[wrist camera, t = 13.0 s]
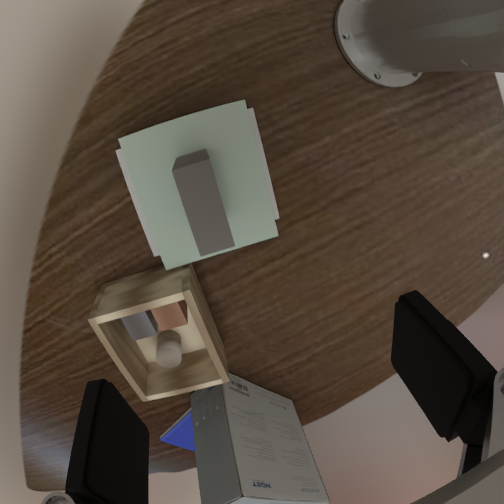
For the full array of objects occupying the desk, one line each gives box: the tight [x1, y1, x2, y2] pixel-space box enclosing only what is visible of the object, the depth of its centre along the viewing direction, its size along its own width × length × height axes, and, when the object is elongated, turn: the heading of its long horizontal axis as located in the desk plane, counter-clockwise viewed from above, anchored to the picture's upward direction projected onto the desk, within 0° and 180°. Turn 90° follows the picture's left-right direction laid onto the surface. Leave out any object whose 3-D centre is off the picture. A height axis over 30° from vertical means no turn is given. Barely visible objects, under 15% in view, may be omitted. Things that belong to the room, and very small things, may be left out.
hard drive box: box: [190, 372, 330, 504], centre depth 37 cm, size 16×8×20 cm, turn 49°
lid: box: [118, 100, 278, 270], centre depth 27 cm, size 12×14×9 cm
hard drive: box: [160, 408, 195, 451], centre depth 48 cm, size 2×8×12 cm
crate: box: [88, 263, 230, 402], centre depth 34 cm, size 11×13×7 cm
